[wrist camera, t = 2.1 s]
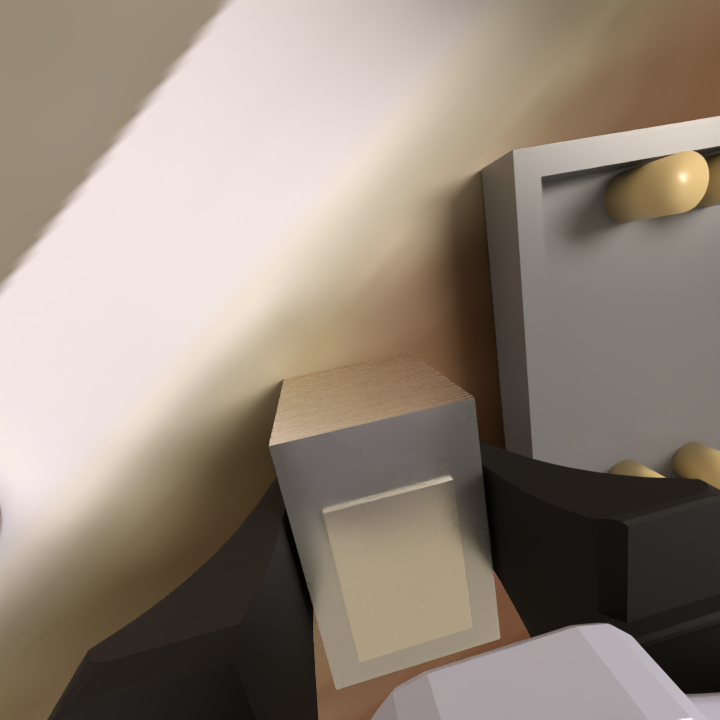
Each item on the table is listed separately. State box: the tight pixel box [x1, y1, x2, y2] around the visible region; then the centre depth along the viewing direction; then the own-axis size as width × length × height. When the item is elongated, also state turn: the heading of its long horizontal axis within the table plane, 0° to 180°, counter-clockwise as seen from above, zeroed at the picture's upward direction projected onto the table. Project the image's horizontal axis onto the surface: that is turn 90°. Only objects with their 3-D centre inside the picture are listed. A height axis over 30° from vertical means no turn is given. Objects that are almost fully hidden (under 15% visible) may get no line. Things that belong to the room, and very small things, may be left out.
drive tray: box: [481, 116, 720, 489], centre depth 12 cm, size 14×12×3 cm
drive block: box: [269, 352, 500, 690], centre depth 11 cm, size 7×4×5 cm, turn 11°
